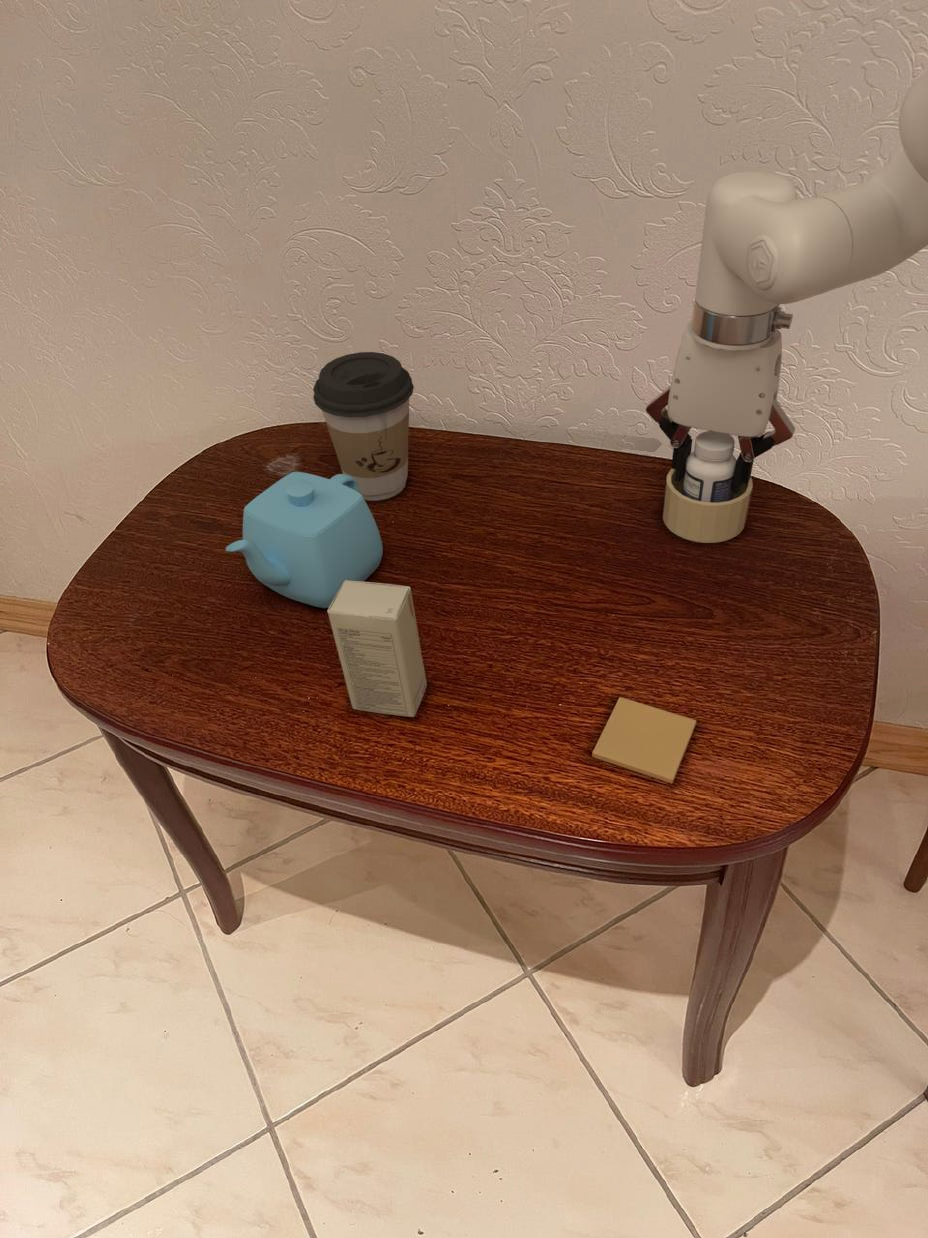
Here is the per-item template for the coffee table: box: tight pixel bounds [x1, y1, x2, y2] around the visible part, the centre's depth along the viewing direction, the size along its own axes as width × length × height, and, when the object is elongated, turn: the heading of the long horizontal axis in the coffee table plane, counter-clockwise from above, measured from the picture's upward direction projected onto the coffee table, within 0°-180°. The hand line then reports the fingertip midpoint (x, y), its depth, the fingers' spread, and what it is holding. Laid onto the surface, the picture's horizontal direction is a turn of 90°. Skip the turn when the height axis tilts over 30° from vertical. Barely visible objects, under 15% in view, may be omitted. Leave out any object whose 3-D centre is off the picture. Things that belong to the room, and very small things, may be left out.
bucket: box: [662, 468, 754, 544], centre depth 97 cm, size 9×9×5 cm
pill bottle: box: [682, 430, 737, 503], centre depth 96 cm, size 5×5×10 cm
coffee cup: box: [312, 351, 415, 502], centre depth 103 cm, size 11×11×15 cm
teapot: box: [225, 471, 384, 609], centre depth 91 cm, size 12×18×12 cm
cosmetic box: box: [326, 580, 428, 718], centre depth 78 cm, size 6×4×12 cm
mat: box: [591, 696, 697, 785], centre depth 76 cm, size 7×7×1 cm
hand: (709, 479), depth 96 cm, fingers closed on pill bottle, 5 cm apart
